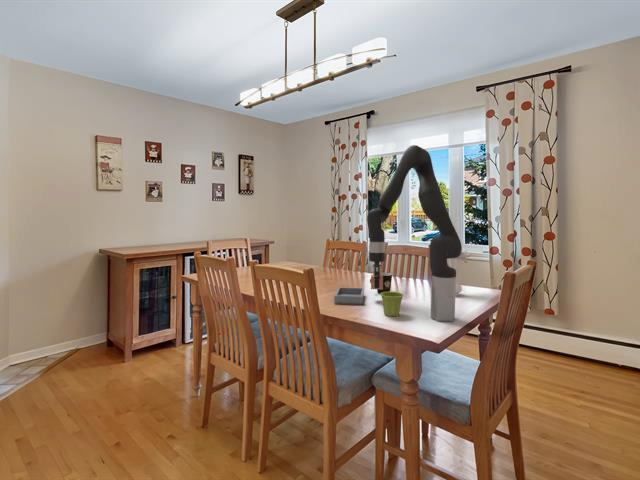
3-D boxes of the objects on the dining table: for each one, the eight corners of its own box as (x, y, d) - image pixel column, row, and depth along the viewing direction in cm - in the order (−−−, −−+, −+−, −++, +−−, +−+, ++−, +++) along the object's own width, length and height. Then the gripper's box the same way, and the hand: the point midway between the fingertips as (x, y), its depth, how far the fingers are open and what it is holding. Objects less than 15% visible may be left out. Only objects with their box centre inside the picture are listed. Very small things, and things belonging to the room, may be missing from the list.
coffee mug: (391, 291, 189) (391, 272, 188) (392, 295, 181) (393, 275, 180) (369, 290, 190) (369, 272, 190) (369, 294, 182) (370, 275, 181)
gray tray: (362, 304, 162) (362, 296, 162) (334, 303, 164) (334, 295, 164) (363, 295, 180) (363, 288, 180) (338, 294, 182) (338, 287, 182)
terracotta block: (382, 289, 166) (382, 276, 165) (370, 289, 167) (371, 276, 166) (382, 287, 171) (382, 274, 171) (370, 286, 172) (371, 274, 172)
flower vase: (472, 293, 183) (474, 245, 181) (455, 299, 171) (456, 248, 169) (448, 289, 193) (450, 243, 191) (430, 295, 180) (432, 246, 178)
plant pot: (386, 310, 154) (387, 290, 153) (407, 314, 148) (407, 293, 147) (375, 315, 147) (376, 294, 146) (396, 319, 141) (396, 298, 140)
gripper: (385, 252, 160) (385, 289, 161) (384, 249, 174) (384, 283, 176) (368, 252, 161) (368, 289, 162) (369, 249, 175) (368, 283, 177)
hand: (376, 286), depth 169 cm, fingers closed on terracotta block, 5 cm apart
